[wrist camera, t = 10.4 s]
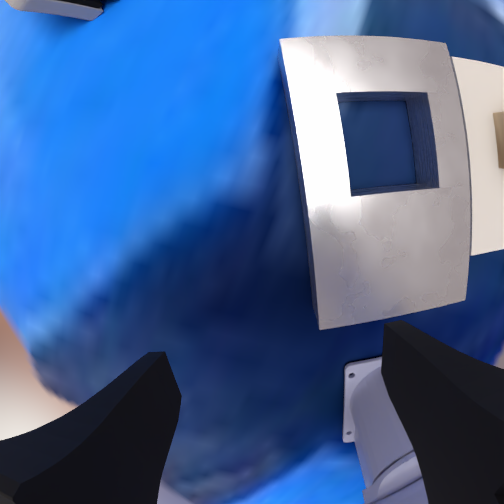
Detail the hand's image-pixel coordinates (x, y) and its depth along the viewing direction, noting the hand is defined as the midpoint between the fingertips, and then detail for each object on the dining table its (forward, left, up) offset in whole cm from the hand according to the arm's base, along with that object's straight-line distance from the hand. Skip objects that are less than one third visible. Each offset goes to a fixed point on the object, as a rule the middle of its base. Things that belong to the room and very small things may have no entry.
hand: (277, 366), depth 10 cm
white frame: (+5, -7, -10) cm, 13 cm away
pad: (+6, -19, -10) cm, 23 cm away
